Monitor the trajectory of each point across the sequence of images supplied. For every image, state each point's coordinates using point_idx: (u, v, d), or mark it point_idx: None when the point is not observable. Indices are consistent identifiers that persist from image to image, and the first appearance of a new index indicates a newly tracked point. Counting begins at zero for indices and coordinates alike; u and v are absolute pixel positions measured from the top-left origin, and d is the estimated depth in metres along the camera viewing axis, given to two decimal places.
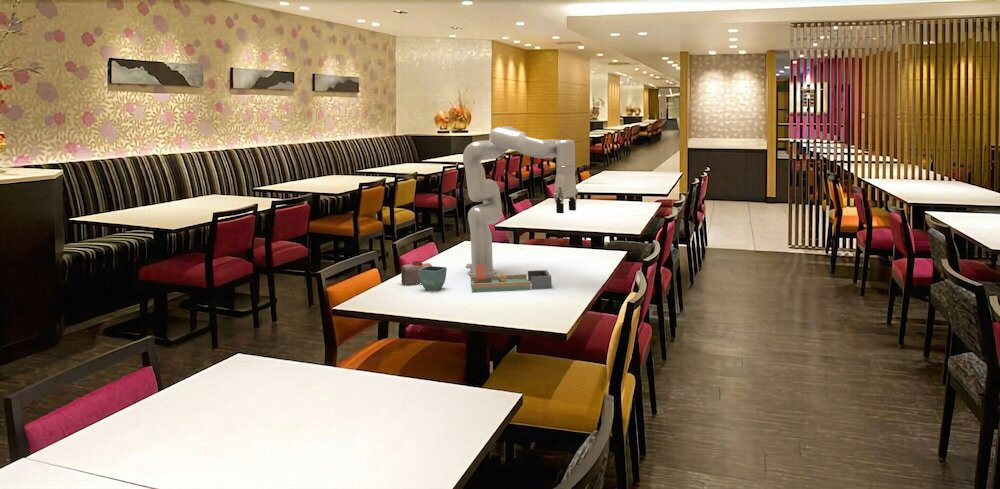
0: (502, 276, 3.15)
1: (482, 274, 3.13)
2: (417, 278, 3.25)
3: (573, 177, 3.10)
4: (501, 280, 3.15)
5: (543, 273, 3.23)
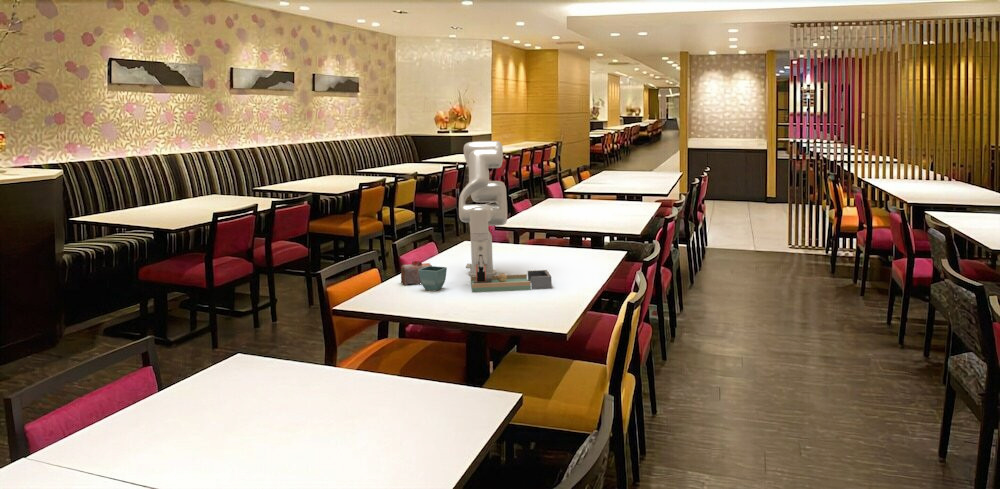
0: (502, 276, 3.15)
1: None
2: (417, 278, 3.25)
3: (474, 245, 3.11)
4: (501, 280, 3.15)
5: (543, 273, 3.23)
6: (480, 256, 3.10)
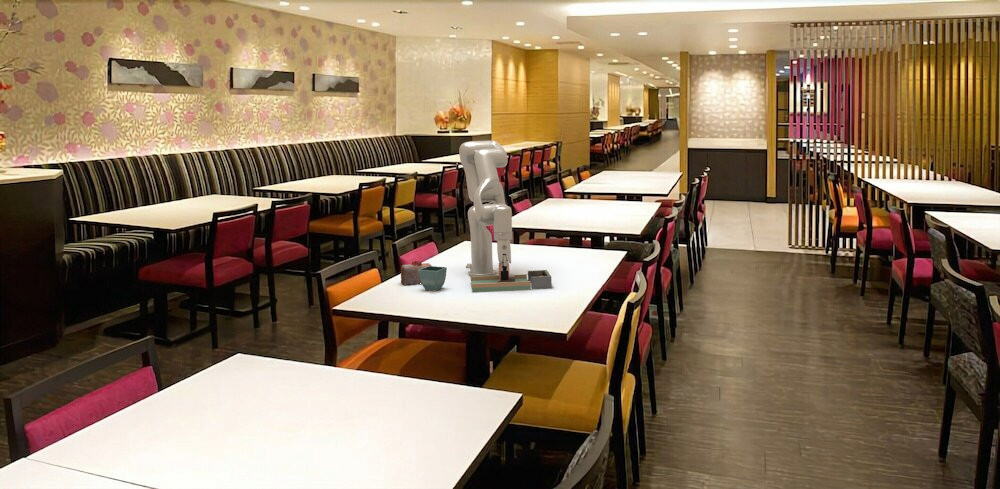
0: None
1: None
2: (417, 278, 3.25)
3: (497, 244, 3.12)
4: None
5: (543, 273, 3.23)
6: (504, 255, 3.10)
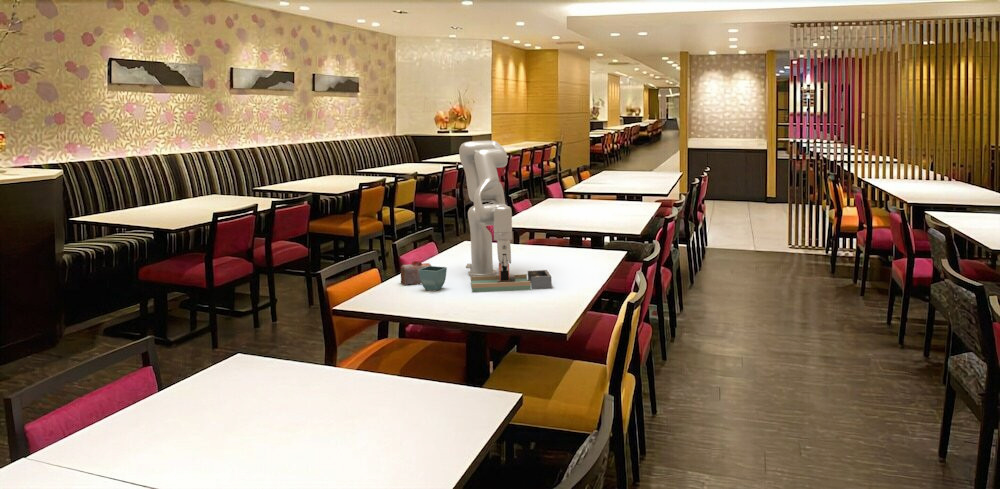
0: None
1: None
2: (417, 278, 3.25)
3: (498, 244, 3.12)
4: None
5: (543, 273, 3.23)
6: (504, 255, 3.10)
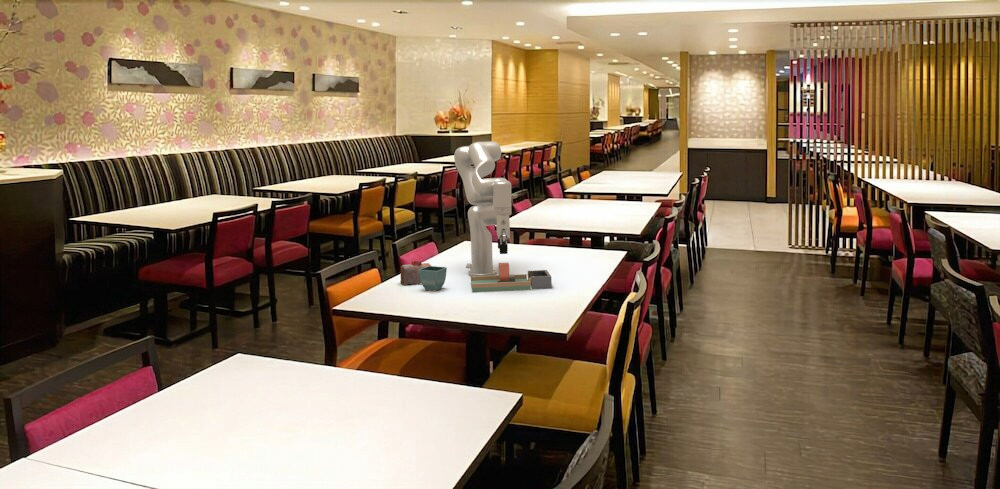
0: None
1: (506, 273, 3.14)
2: (416, 278, 3.25)
3: (497, 219, 3.10)
4: None
5: (543, 273, 3.23)
6: None
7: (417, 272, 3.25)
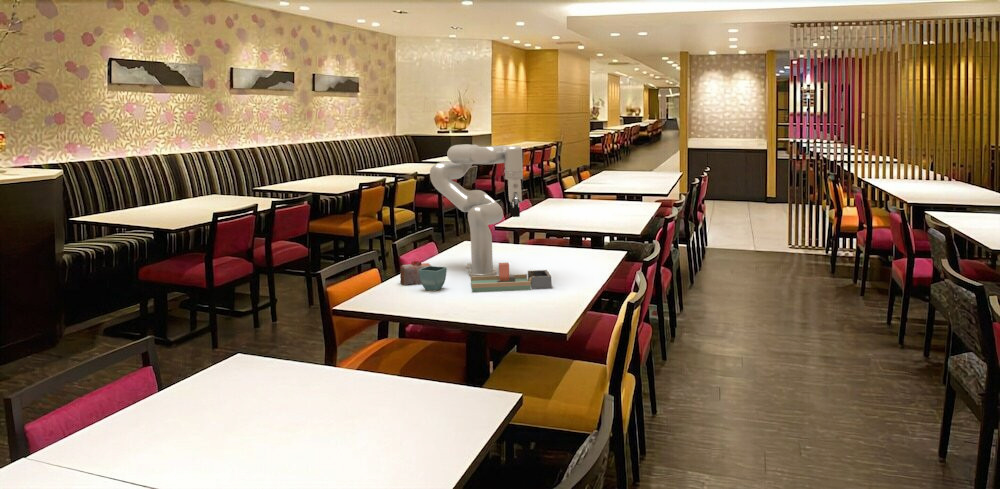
0: None
1: (506, 273, 3.14)
2: (416, 278, 3.25)
3: (509, 183, 3.21)
4: None
5: (543, 273, 3.23)
6: None
7: (417, 272, 3.25)
